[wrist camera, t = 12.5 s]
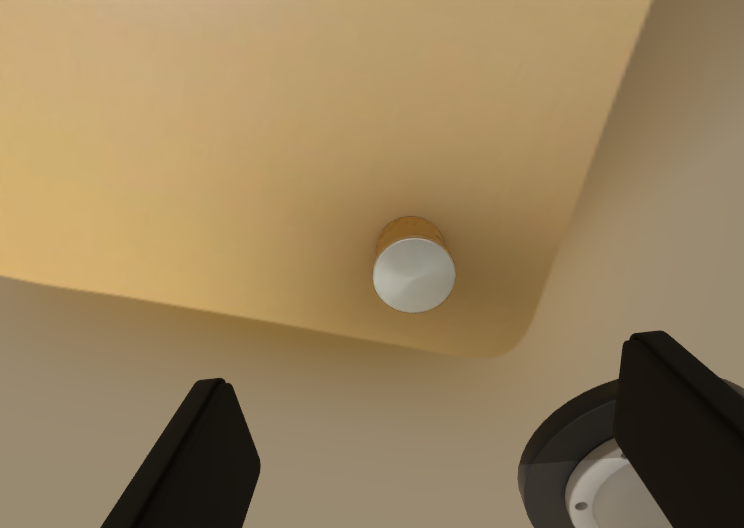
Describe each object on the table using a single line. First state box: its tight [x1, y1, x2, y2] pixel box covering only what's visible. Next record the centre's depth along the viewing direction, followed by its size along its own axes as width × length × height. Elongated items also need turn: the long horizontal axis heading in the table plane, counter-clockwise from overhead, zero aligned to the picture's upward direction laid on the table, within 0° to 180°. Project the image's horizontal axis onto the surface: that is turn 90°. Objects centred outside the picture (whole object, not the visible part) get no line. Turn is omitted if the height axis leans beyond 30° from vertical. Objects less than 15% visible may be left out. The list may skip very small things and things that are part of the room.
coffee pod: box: [372, 217, 456, 313], centre depth 19 cm, size 4×4×4 cm
